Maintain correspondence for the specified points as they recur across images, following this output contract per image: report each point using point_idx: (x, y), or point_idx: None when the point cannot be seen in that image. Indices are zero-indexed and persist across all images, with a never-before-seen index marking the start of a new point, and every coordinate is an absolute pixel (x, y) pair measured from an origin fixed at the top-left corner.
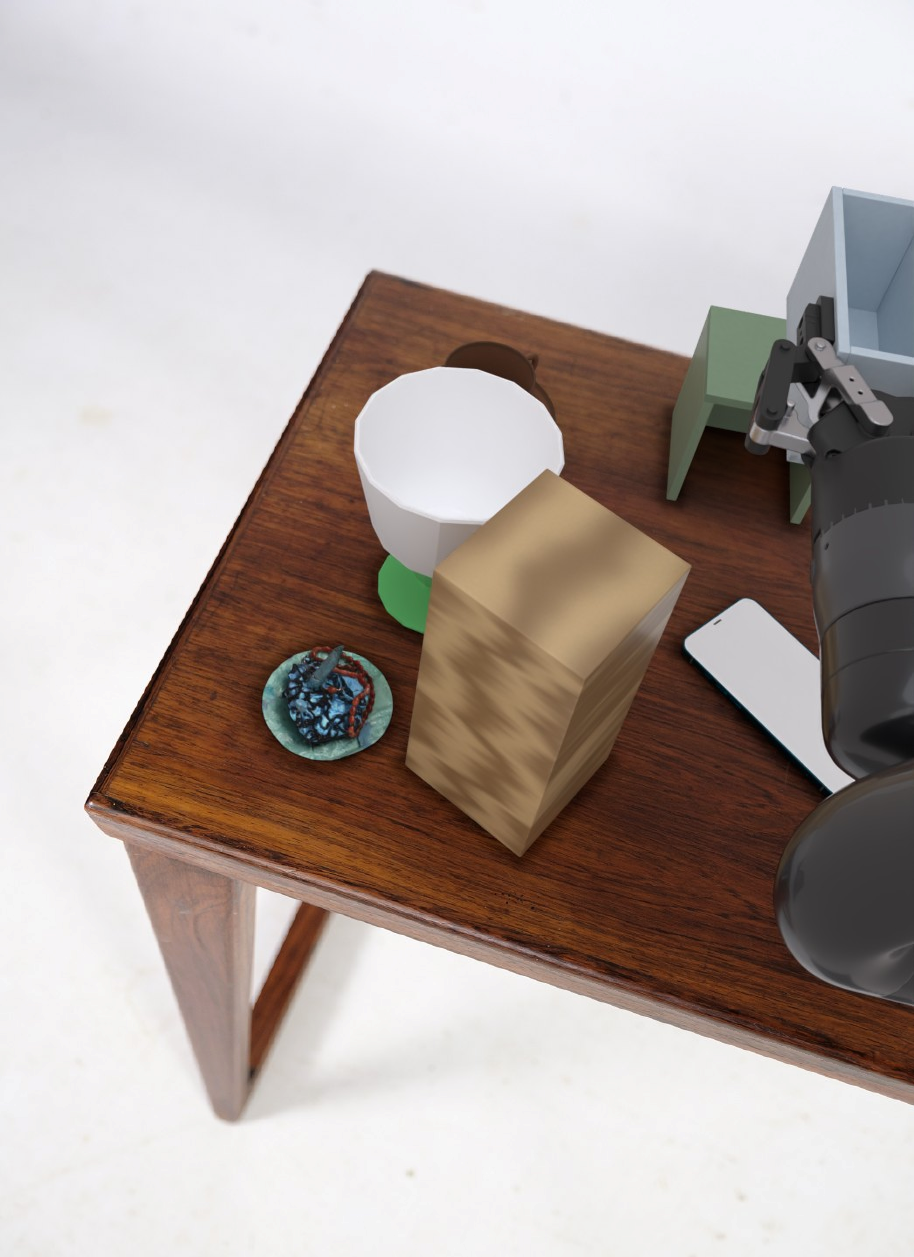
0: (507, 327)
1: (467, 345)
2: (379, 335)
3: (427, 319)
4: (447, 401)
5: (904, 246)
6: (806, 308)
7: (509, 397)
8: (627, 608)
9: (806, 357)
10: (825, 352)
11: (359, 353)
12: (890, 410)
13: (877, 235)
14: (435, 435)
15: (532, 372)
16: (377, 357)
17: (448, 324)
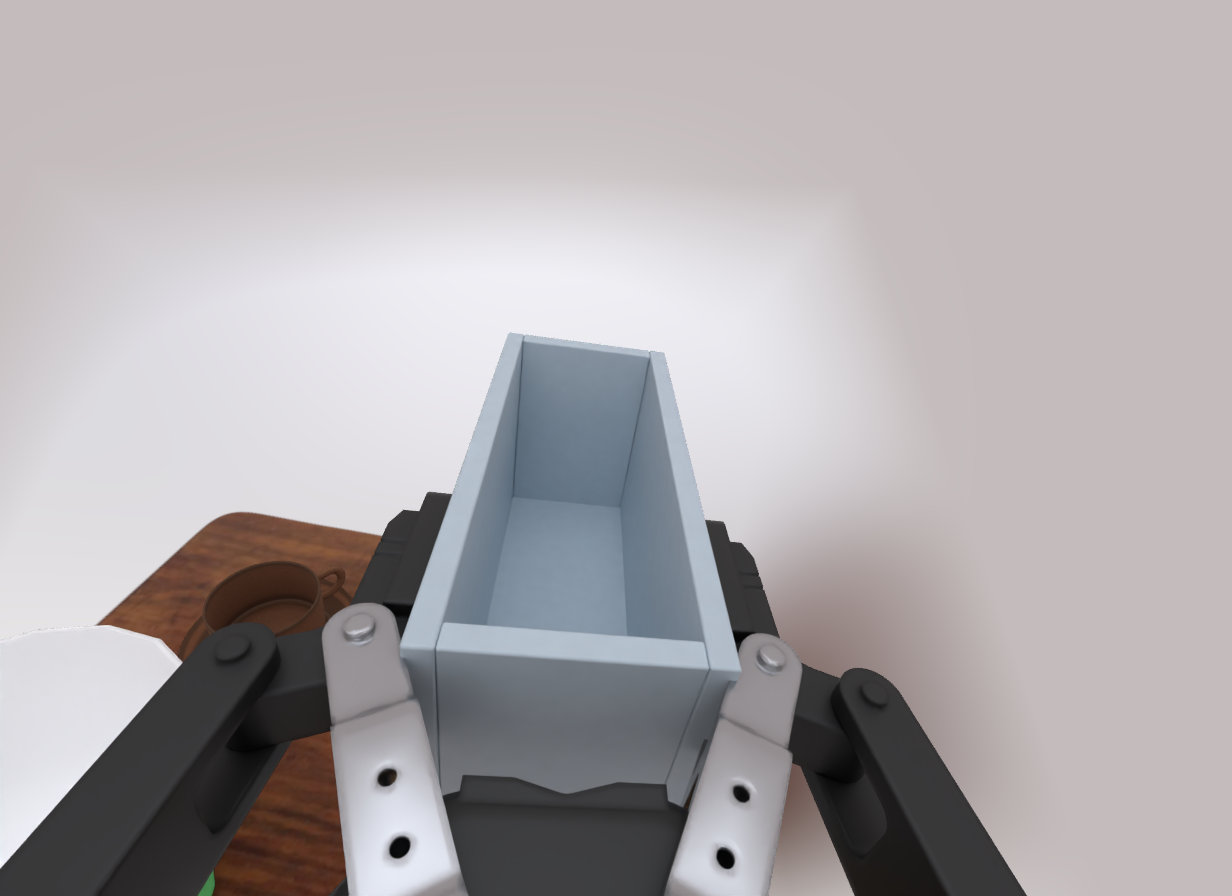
0: (346, 539)
1: (251, 567)
2: (203, 559)
3: (264, 538)
4: (72, 672)
5: (633, 414)
6: (389, 523)
7: (154, 660)
8: None
9: (322, 667)
10: (364, 652)
11: (170, 580)
12: (532, 888)
13: (591, 401)
14: (72, 717)
15: (318, 590)
16: (189, 582)
17: (285, 541)
